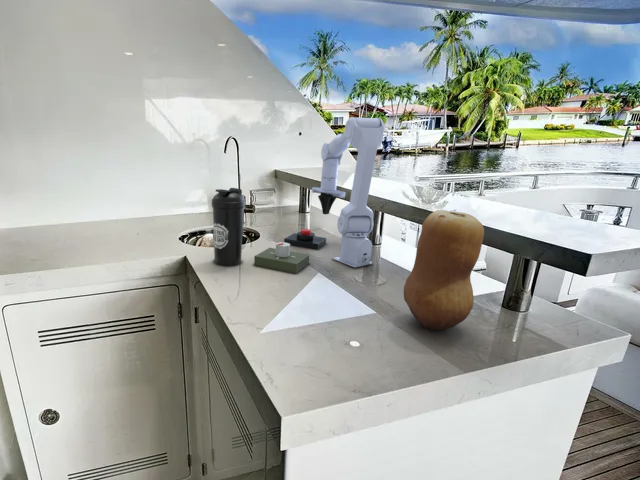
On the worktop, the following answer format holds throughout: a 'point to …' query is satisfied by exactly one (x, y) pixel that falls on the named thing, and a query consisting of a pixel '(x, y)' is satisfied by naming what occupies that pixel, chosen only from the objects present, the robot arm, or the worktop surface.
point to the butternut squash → (444, 269)
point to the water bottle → (228, 226)
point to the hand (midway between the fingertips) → (325, 213)
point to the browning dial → (282, 249)
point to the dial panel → (282, 261)
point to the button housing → (305, 240)
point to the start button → (306, 232)
